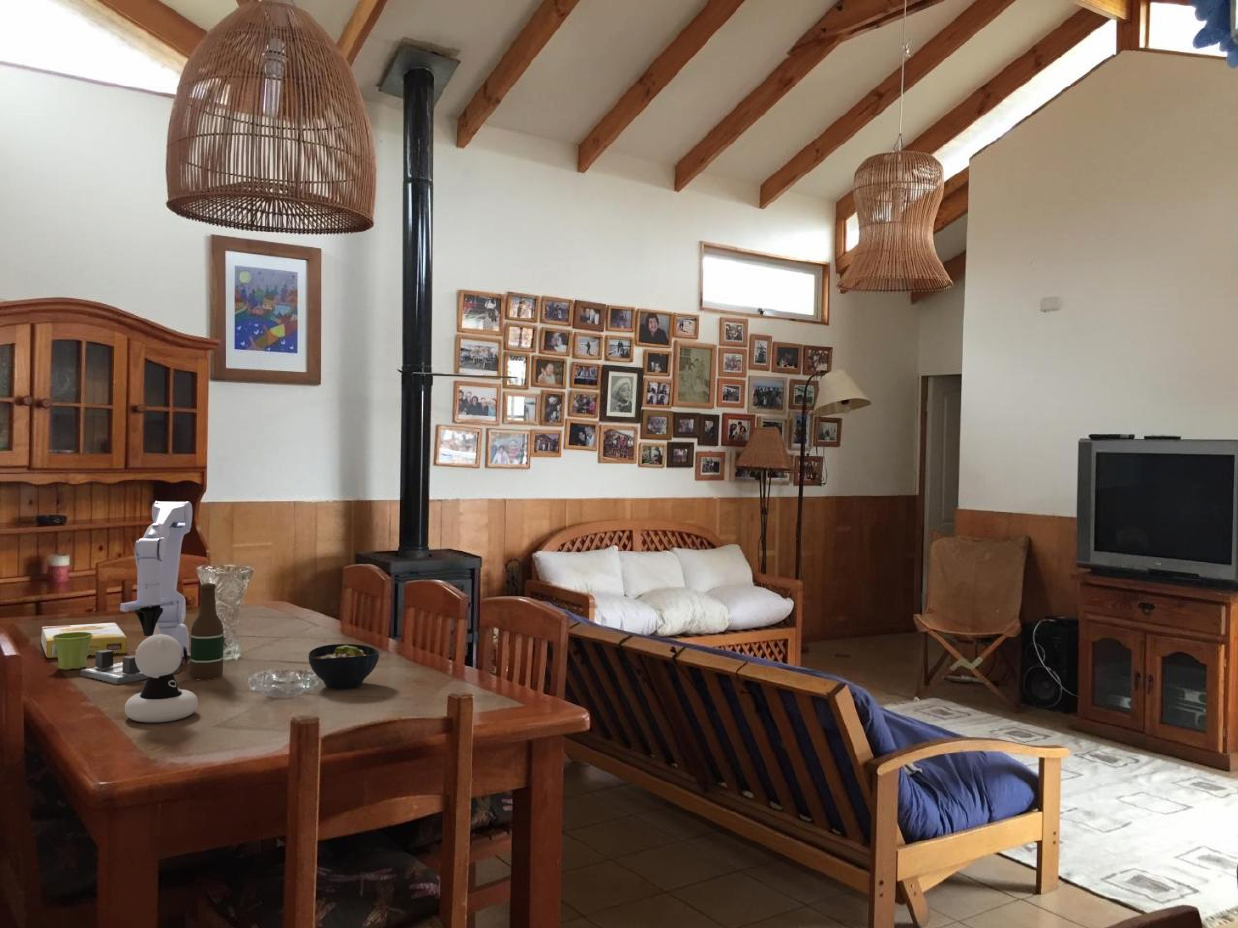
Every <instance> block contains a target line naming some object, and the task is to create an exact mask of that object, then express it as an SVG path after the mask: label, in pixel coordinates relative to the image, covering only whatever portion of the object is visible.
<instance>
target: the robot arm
mask: <svg viewBox="0 0 1238 928" xmlns="http://www.w3.org/2000/svg"><path fill="white" fill-rule="evenodd" d="M151 519H152V522H153V523H151V524H150V525H149V526H148V527H147V529H146V531H145V532H144V534H143V537H142V538H139V539H137V540H136V542H135V543H134V550H133V551H134V559H135V567H136V568H137V571H136V573H137V576H136V577H137V582H136V584H137V585H136V600H133V601H128V602H121V603H120V607H119V608H120V612H123V613H125V612H129V611H134V613H135V615H136V616H137V618H138V621H139V622H140V625H141V627H142V633H143V635H144V636H146V637H150V636H153V633H154V630H155V626H156V623H157V624H158V627H159V629H160V631H161V634H164V635H168V636H171V637H173V638H174V639H176V640H177V641H178V643H179V644H180V646H181V648H182V654H183V648H184V647H186V648H185V649H187V657H190V656H191V653H190V652H189V650H190V647H189V646H190V634H189V633H190V632H189V629H188V627H187V625H186V624H185V623H184V622H185V620H186V614H187V610H186V609H187V608H186V598H185V596H184V595H183V594H182V593H180V592H179V591H177V586H178V579H179V569H180V561H181V555H182V554H181V551H182V543H183V540H184V537H185V535H186V534H188V533H190V531H191V528H192V522H193V505H192V503H191V502H190V501H158V500H155V501H154V502H153V503H152V507H151ZM183 646H184V647H183ZM182 658H185V656H184V654H183V655H182Z"/></svg>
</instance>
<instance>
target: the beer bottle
mask: <svg viewBox="0 0 1238 928" xmlns="http://www.w3.org/2000/svg"><path fill="white" fill-rule="evenodd" d="M199 588H200V589H201V591H200V604H199V613H198V615H197V617H196V618H195V620H194V621H193V623H192V626H191V630H190V631H191V632H190V666H189V667H190V679H193V678H194V679H193V680H195V679H196V681H198V680H197V679H202V680H201V681H208V680H207V679H210V680H215V679H214V678H217V679H219V678H221V677H222V676H223V674H224V673H223V672H224V642H225V641H224V637H225V635H224V633H225V632H224V625H223V622H222V620H221V619H220V617H219V616H218V615H217V613H218V612H217V607H216V588H217V585H216V584H215V583H212V582H211V583H209V582H205V583H202V584H201V585H200V587H199Z"/></svg>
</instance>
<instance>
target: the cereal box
mask: <svg viewBox="0 0 1238 928" xmlns="http://www.w3.org/2000/svg"><path fill="white" fill-rule="evenodd" d="M69 632H90V633H93V636H91V640H90V642H89V647H88V654H87V657H88V656H89V655H91V656H95V655H96V651H100V650H106V649H107V650H112V651H113V655H115V654H116V653H119V654H128V653H127V651H128V637H127V636H126V634H125V633H124V632H123V631H122V629H121V628H120V627H119V625H118V624H117V623H116V622H104V623H89V624H88V623H87V624H72V625H70V624H68V625H54V626H53V625H51V626H41V635H40V637H41V638H40V639H41V640H40V642H41V646H42V648H43V651H44V655H45V656H46V658H48V659H51V658H52V659H53V658H58V655H57V649H56V644H55V642H54V639H53V638H52V636H54V635H57V634H62V633H69ZM114 653H115V654H114ZM116 655H117V654H116ZM89 657H90V656H89Z"/></svg>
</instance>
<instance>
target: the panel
mask: <svg viewBox="0 0 1238 928" xmlns="http://www.w3.org/2000/svg"><path fill="white" fill-rule="evenodd" d="M94 657H95V659H94V661H95V662H94V663H95V664H94V665H95V666H94V667H90V668H89V667H88V668H84V669H83V668H82V669H80V676H81V677H83V678H84V677H85V678H88V679H92V678H94V680H96V679H97V681H100V680H102V681H101V682H105V681H106V683H110V684H114V685H121V684H125V683H132V682H137V681H143V680H146V679H147V678H148V676H146V675H144V674H143V673H142V672H141V671H140V670H139V669H138V667H137V665H136V662H135V654H133V655H126V656H122V661H121V662H117V663H115V662H114V654H113V651H112V650H107V649H106V650H100V651H96V655H94ZM178 672H179V673H180V666H179V667H178V668H177V669H176V670H175V671H174V672H173V674H177V673H178ZM179 673H178V674H179Z"/></svg>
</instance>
